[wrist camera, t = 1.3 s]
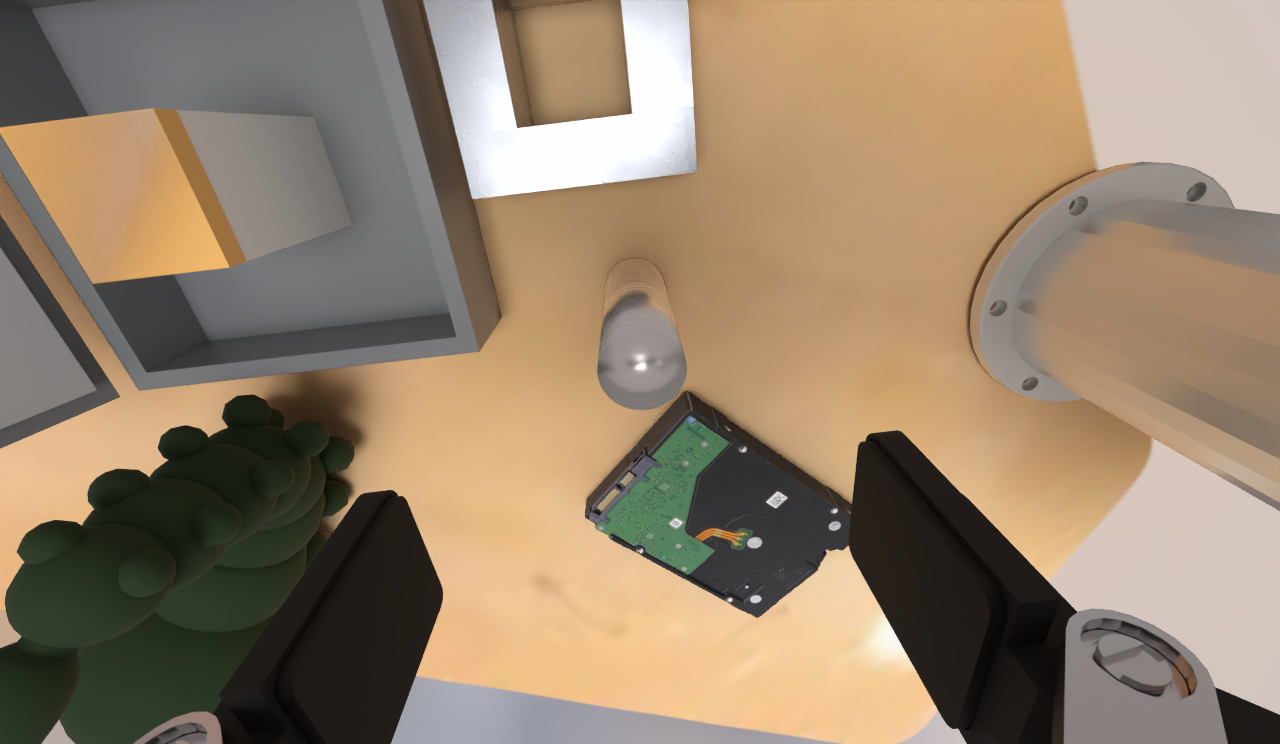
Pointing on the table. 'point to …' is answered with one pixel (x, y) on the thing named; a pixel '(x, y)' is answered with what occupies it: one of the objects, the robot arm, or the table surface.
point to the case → (354, 141)
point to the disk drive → (719, 508)
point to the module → (179, 187)
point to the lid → (40, 353)
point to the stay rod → (639, 339)
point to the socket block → (570, 151)
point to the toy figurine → (165, 578)
